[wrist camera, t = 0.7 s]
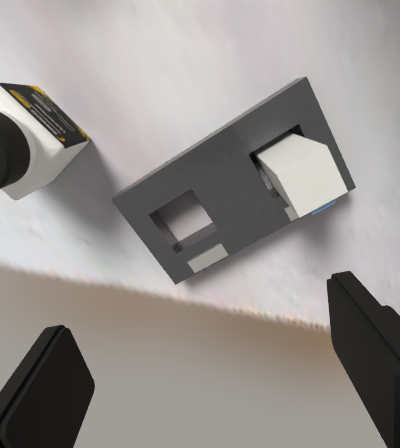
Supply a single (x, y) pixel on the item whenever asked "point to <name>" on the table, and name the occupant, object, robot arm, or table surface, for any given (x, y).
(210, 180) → the jack panel
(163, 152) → the table surface
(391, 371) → the robot arm
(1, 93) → the medicine bottle
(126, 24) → the table surface
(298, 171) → the plug
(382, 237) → the table surface
